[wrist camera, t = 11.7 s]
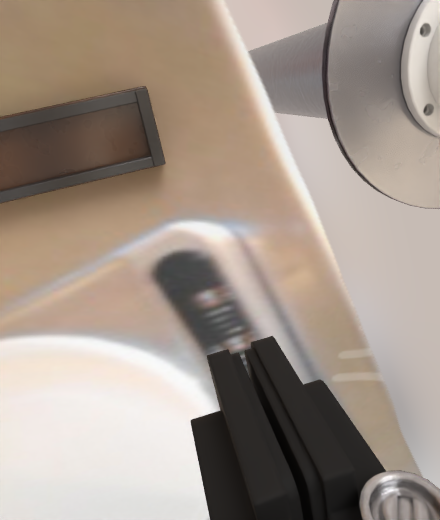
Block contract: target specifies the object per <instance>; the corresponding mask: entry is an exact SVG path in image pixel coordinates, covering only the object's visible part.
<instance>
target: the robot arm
mask: <svg viewBox="0 0 440 520" xmlns="http://www.w3.org/2000/svg"><path fill="white" fill-rule="evenodd" d="M401 81H402V88H403V94H404V97H405V100H406V103H407V106H408V108H409V110H410V112H411V113H412V115H413V117H414V118H415V120H416V121H417V122H418V123H419V124H420V125H421V126H422V127H423V128H424V129H425V130H426V131H428V132H429V133H431V134H433V135H434V136H437V137H440V0H423V2H422V3H421V4H420V6H419V7H418V9H417V11H416V13H415V15H414V17H413V19H412V21H411V23H410V26H409V29H408V32H407V35H406V38H405V41H404V47H403V53H402V58H401ZM251 348H252V349H248V350H245V357H246V362H247V367H248V372H249V375H248V373H247V371H246V369H245V366H244V364H243V362H242V360H241V357H240V355H239V353H235V354H230V352H229V350H228V349H227V350H224V351H220V352H217V353H214V354H210V355H207V359H208V363H209V367H210V371H211V375H212V379H213V383H214V387H215V390H216V394H217V398H218V402H219V406H220V410H221V411H218V412H215V413H211V414H208V415H205V416H202V417H199V418H195V419H192V420H191V426H192V431H193V436H194V441H195V446H196V451H197V456H198V461H199V466H200V471H201V476H202V481H203V486H204V491H205V496H206V501H207V506H208V511H209V516H210V520H440V489H439V488H438V487H436V486H435V485H434V484H433V483H431V482H430V481H429V480H427V479H425V478H423V477H421V476H419V475H417V474H414V473H410V472H405V471H401V470H400V471H386V470H385V469H384V467H383V466H382V465H381V463H380V462H379V460H378V459H377V457H376V456H375V454H374V453H373V452H372V450H371V449H370V447H369V446H368V444H367V443H366V441H365V440H364V439H363V437H362V436H361V434H360V433H359V431H358V430H357V429H356V427H355V426H354V424H353V423H352V421H351V420H350V418H349V417H348V416H347V414H346V413H345V411H344V410H343V408H342V407H341V406H340V404H339V403H338V401H337V400H336V398H335V397H334V395H333V394H332V393H331V391H330V390H329V388H328V387H327V385H326V384H325V383H324V382H323V381H322V380H317V381H313V382H310V383H307V384H304V385H303V384H302V382H301V381H300V379H299V377H298V376H297V374H296V372H295V371H294V369H293V368H292V366H291V364H290V363H289V361H288V359H287V358H286V356H285V355H284V353H283V351H282V350H281V348H280V346H279V345H278V343H277V342H276V340H275V338H274V337H273V336H271V337H267V338H264V339H261V340H257V341H254V342H251ZM249 376H250V378H249Z"/></svg>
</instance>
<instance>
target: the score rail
mask: <svg viewBox="0 0 440 520" xmlns="http://www.w3.org/2000/svg"><path fill="white" fill-rule="evenodd" d="M164 164H165V159H164V155H163V151H162V147H161V143H160V139H159V135H158V131H157V127H156V123H155V119H154V115H153V111H152V107H151V103H150V99H149V95H148V90H147V88H146V87H145V86H142V87H137V88H133V89H128V90H124V91H119V92H114V93H110V94H105V95H100V96H96V97H91V98H86V99H82V100H77V101H72V102H68V103H63V104H58V105H54V106H49V107H44V108H40V109H35V110H30V111H26V112H21V113H16V114H12V115H7V116H2V117H0V203H4V202H8V201H13V200H17V199H21V198H25V197H29V196H33V195H38V194H42V193H46V192H50V191H54V190H59V189H63V188H67V187H71V186H75V185H80V184H84V183H88V182H92V181H96V180H101V179H105V178H109V177H113V176H117V175H122V174H126V173H130V172H134V171H138V170H143V169H147V168H151V167H156V166H160V165H164Z"/></svg>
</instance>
